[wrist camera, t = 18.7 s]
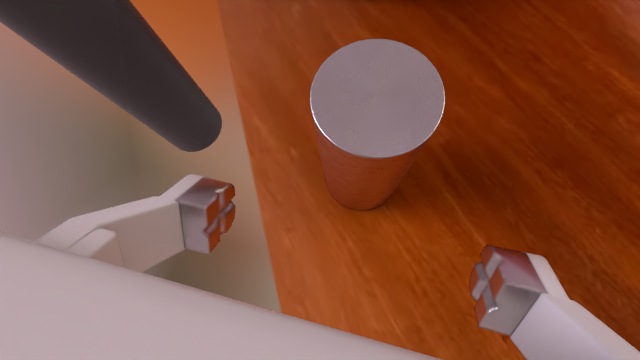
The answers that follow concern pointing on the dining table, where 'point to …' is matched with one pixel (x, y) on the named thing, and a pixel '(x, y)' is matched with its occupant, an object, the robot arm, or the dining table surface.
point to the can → (373, 117)
